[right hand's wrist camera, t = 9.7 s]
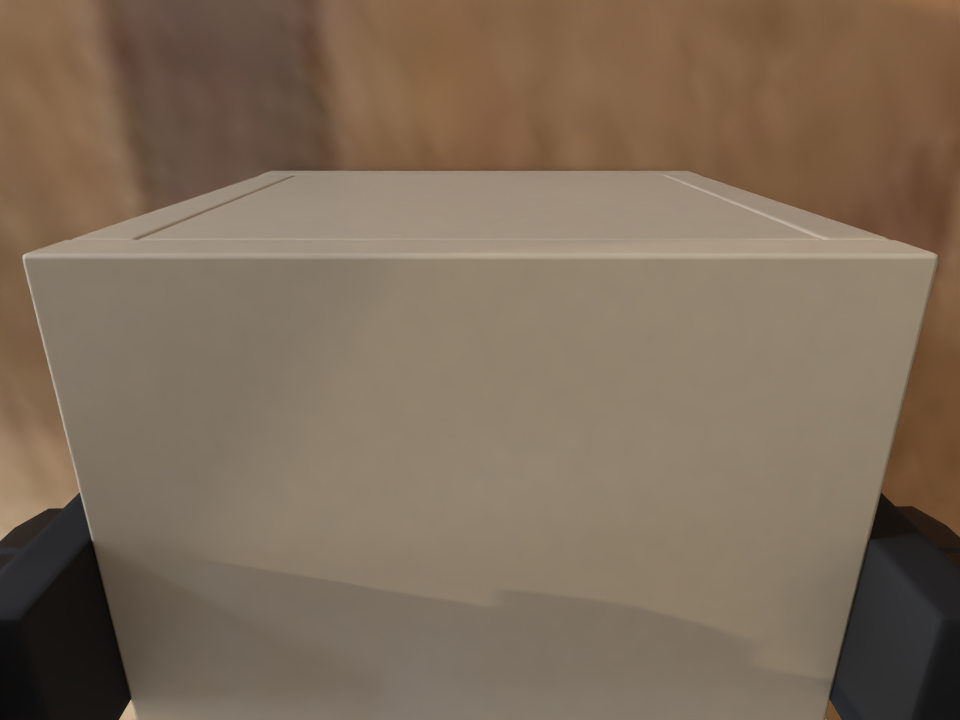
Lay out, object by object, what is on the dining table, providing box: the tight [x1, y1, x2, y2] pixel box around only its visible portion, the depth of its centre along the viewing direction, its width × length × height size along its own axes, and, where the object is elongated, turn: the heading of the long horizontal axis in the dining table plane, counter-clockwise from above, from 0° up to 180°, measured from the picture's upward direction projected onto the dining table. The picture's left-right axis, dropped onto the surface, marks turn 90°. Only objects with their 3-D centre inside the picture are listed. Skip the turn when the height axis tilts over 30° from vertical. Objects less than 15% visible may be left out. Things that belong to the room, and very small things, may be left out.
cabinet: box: [22, 171, 939, 720], centre depth 15 cm, size 19×10×9 cm, turn 0°
